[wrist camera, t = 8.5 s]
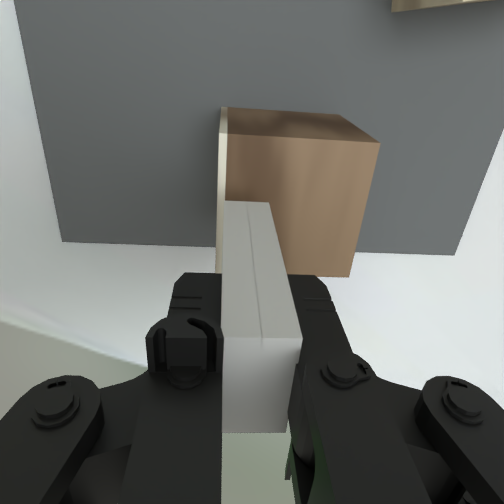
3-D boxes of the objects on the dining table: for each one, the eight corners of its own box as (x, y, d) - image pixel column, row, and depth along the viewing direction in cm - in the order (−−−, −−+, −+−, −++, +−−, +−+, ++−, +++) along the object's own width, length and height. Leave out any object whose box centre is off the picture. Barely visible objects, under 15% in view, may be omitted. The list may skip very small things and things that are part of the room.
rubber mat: (64, 238, 22) (62, 241, 22) (-41, -298, 12) (-49, -308, 12) (451, 252, 24) (454, 255, 24) (623, -201, 14) (633, -207, 14)
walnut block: (214, 273, 16) (348, 277, 17) (218, 133, 13) (380, 142, 14) (217, 216, 22) (320, 221, 22) (221, 106, 19) (339, 114, 19)
